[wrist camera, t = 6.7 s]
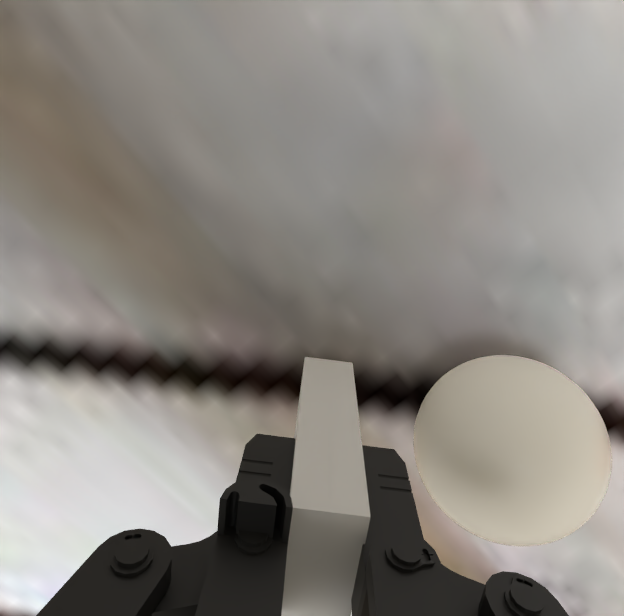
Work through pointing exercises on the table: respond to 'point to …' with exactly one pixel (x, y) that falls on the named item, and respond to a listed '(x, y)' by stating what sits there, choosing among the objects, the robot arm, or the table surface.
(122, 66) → the table surface
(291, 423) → the table surface
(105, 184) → the table surface
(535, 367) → the cue ball
